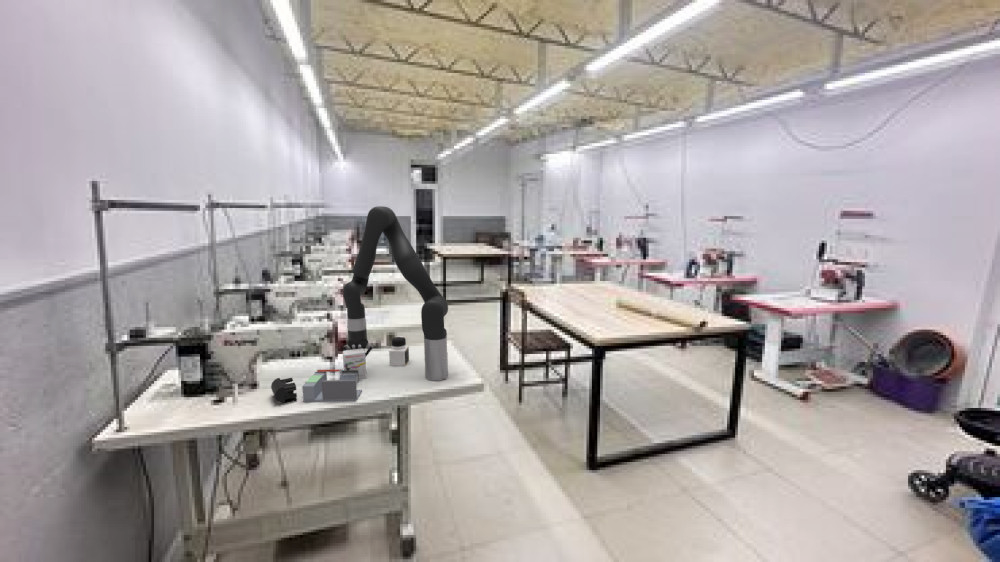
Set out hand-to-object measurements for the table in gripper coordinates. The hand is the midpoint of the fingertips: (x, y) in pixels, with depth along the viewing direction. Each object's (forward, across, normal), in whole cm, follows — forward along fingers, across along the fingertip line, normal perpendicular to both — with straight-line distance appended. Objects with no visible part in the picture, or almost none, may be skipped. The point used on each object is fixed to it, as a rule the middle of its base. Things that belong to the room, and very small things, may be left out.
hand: (359, 367), depth 182 cm
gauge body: (+2, +3, +20) cm, 20 cm away
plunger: (+1, +4, +14) cm, 15 cm away
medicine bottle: (+3, -15, -10) cm, 18 cm away
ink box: (+3, 0, +6) cm, 7 cm away
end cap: (+3, +21, +24) cm, 32 cm away
